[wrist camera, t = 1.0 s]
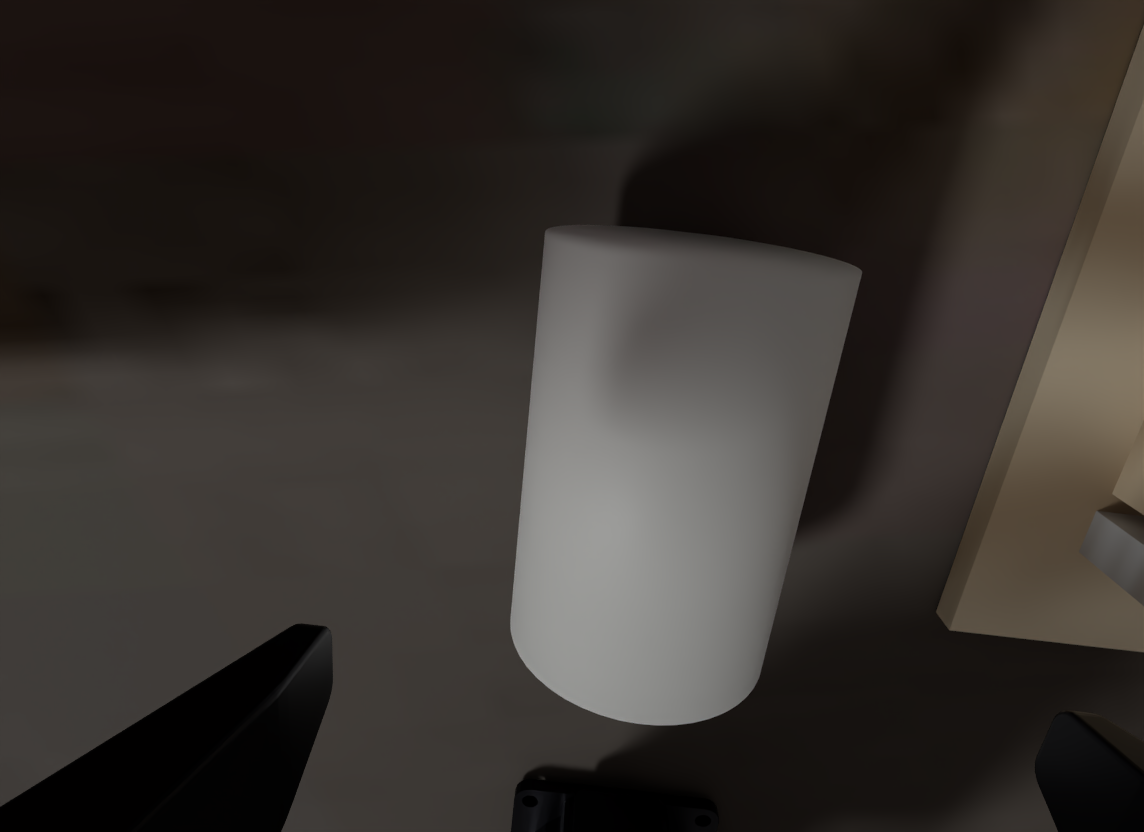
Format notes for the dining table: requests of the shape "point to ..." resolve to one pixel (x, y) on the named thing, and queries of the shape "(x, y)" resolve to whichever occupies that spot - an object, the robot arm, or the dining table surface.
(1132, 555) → the roll holder
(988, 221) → the dining table surface
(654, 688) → the roll
